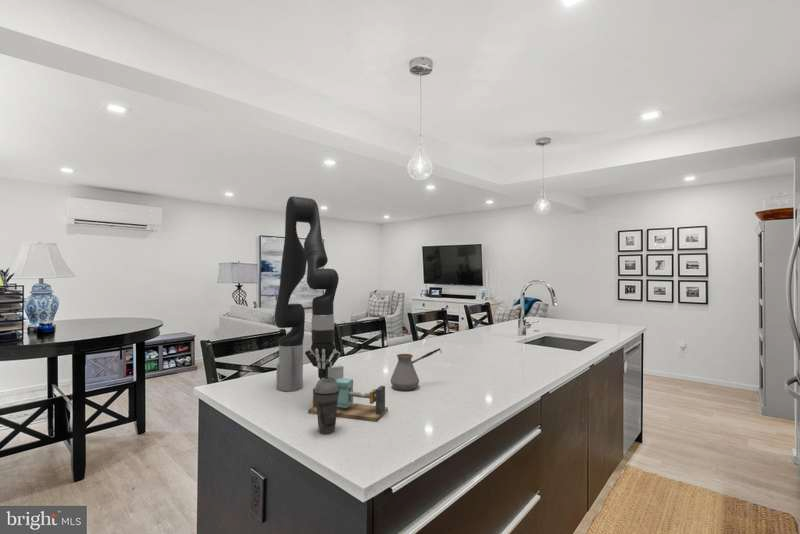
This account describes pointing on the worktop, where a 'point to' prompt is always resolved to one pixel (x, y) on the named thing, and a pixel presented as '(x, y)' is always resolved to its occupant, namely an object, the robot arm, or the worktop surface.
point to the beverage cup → (326, 403)
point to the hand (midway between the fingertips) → (323, 379)
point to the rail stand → (361, 406)
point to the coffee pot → (406, 372)
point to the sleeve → (344, 392)
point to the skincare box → (336, 371)
